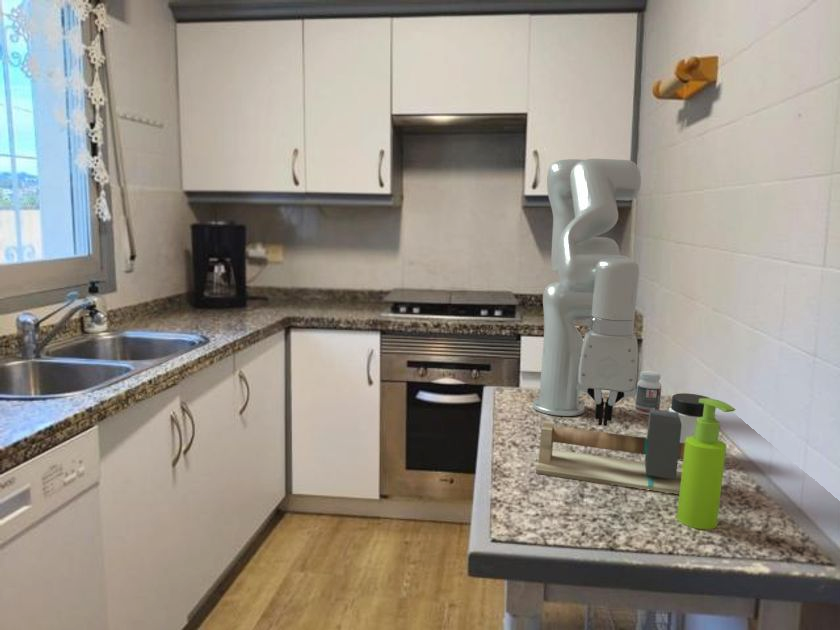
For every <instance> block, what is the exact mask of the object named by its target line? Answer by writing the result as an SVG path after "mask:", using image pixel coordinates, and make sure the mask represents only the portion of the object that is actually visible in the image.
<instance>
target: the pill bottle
mask: <svg viewBox="0 0 840 630" xmlns="http://www.w3.org/2000/svg"><path fill="white" fill-rule="evenodd" d="M639 374H640V375H639V377H640V380H639V381H637V382H636V396H635V405H634V411H635V412H637V413H639V414H642V415H645V416H649V413H650V409H651V410H660V406H661V405H660V404H661V395H662V384H661V383H660V380H661V373H659V372H656V371H652V370H643V371H641V372H640V373H639Z"/></svg>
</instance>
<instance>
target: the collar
mask: <svg viewBox="0 0 840 630" xmlns="http://www.w3.org/2000/svg"><path fill="white" fill-rule="evenodd" d="M648 416H649V417H648V423H647V425H648V426H647V433H646V434H647V435H646V438H649V444H648V454H647V455H645V454H644V462H645V469H646V475H651V476H658V477H665V478H671V479H676V472H677V467H678V461H679V460H678V454H679V445H680V436H681V426H682V424H681V421H680V417H679V414H678V413H676V412H669V410H667V411H666V410H660V409H659V410H651V409H650V413H649V415H648Z"/></svg>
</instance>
